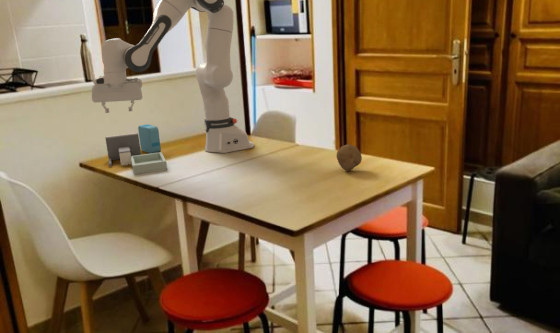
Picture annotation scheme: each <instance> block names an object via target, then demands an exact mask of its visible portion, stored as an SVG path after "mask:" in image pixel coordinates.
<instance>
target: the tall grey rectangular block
mask: <svg viewBox="0 0 560 333" xmlns="http://www.w3.org/2000/svg"><path fill="white" fill-rule="evenodd" d="M118 149H119V155H120V159H119V161H120V166H121V165H122V166H129V165H132V164H131V157H130V156H131V153H130V148H129V146H128V147H120V148H118ZM128 164H129V165H128Z"/></svg>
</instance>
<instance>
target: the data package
mask: <svg viewBox="0 0 560 333" xmlns="http://www.w3.org/2000/svg"><path fill="white" fill-rule="evenodd" d="M137 129H138V136H139V143H140V150H141V151H143V152H144V153H147V154H152V153H159V152H161V150H162V149H161V148H162V147H161V141H160V131H159V128H158V126H155V125H152V124H141V125H138V128H137Z"/></svg>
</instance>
